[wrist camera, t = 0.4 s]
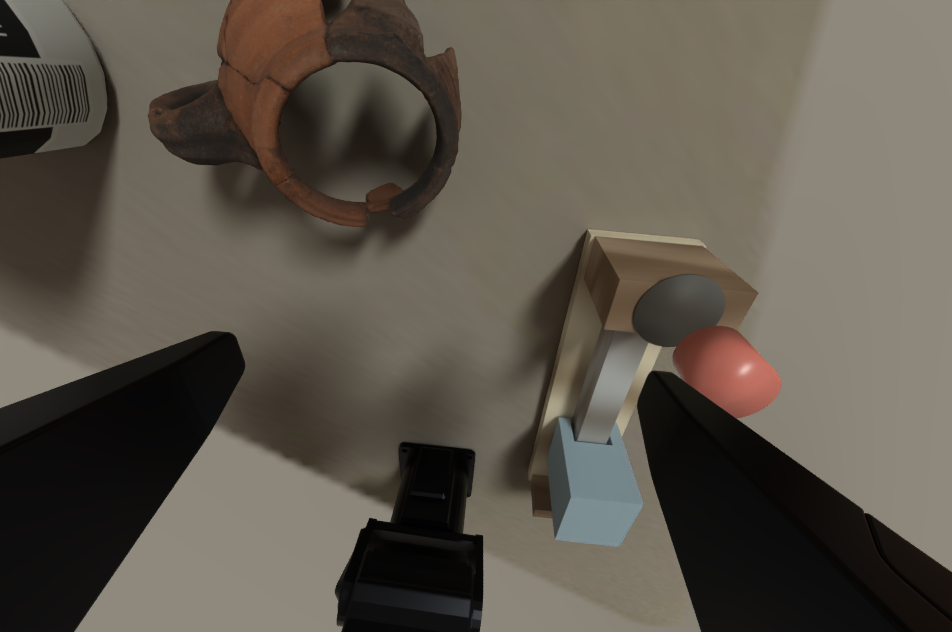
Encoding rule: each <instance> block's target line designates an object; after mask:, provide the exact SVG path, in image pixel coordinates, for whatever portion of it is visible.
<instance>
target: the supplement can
mask: <svg viewBox="0 0 952 632" xmlns="http://www.w3.org/2000/svg"><path fill="white" fill-rule="evenodd" d="M106 112H107V92H106V84H105V76H104V71H103V69H102V67H101V64H100V62H99V59H98V57H97V54H96V52H95V50H94V47H93V45H92V42H91V40H90V39H89V37H88V36H87V35H86V33H85V32H84V30H83V29H82V27H81V26H80V24H79V23H78V21H77V20H76V18H75V17H74V16H73V14H72V13H71V11H70V10H69V8H68V7H67V6H66V5H65V4H64V3H63V1H62V0H0V158H7V157H13V156H20V155H27V154H33V153H40V152H47V151H53V150H60V149H67V148H73V147H80V146H85V145H86V144H87V143H88V142H89V141H91V140H92V139H93V138H94V137H95V136H97V135H98V134H99V133H100V132H101V129H102V125H103V122H104V119H105V115H106Z"/></svg>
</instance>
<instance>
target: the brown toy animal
mask: <svg viewBox="0 0 952 632" xmlns="http://www.w3.org/2000/svg"><path fill="white" fill-rule="evenodd" d="M217 53H218V56H219V57H220V58H221V59H222V62H221V67H220V69H219V76H218V80H214V81H209V82H206V83H202V84H197V85H192V86H187V87H184V88H181V89H178V90H175V91H172V92H169V93H166V94H164V95H162V96H160V97H158V98H156V99H154V100H152V102H151V103H150V109H149V114H148V118H149V123H150V129H151V132H152V134H153V135H154V136H155V137H156V138H157V139H158V140H160V141H161V142H162V143H163V145H164V146H165V147H166V149H167V150H168V151H169V152H171V153H172V154H174V155H175V156H177V157H179V158H181V159H183V160H185V161H187V162H190V163H193V164H198V165H220V164H224V163H230V162H241V163H246V164H249V165H251V166H253V167H255V168H257V169H260V170H262V169H263V170H264V171H265V173H266V174H267V177H268V178H269V179H270V181H271V182H272V184H274V185H275V186H276V187H277V189H278V190H279V191H280V192H281V193H282V194H284V195H285V197H286V198H287V199H289V200H290V201H292V202H293V203H294V204H295V205H297V206H298V207H300V208H301V209H302V210H304V211H306V212H307V213H309V214H311V215H313V216H314V217H318V218H320V219H323V220H325V221H327V222H332V223H335V224H338V225H344V226H352V227H365V226H367V222H368V216H367V213H372V212H379V211H386V210H389V209H390V213H391V214H392V215H393V216H395V217H399V218H404V219H405V218H408V217H411V216H412V215H414V214H415V213H417V212H419V211H420V210H421V209H423V208H424V207H425V206H426V205H427V204H428V203H429V202H431V201H432V200H433V199H434V198H435V197H436V196H437V195H438V194H439V192H440V191H441V190H442V188H443V187H444V186H445V184H446V182H447V180H448V178H449V176H450V174H451V167H452V166H453V165H454V163H455V159H456V155H457V153H458V141H459V131H460V128H461V102H460V95H459V81H458V68H457V62H456V57H455V52H454V49H453V48H452V47H450V48H447V49H446V51H445V53H442V54H438V55H436V56H432V57H426V56H425V55H424V48H423V35H422V33H421V31H420V27H419V24H418V21H417V19H416V18H415V16H414V15H413V13H412V12H411V11H410V10H409V9H408V7H407V6H406V4H405V1H404V0H351V2H350V3H349V5H348V6H347V8H346V9H344V10H343V11H342V12H341V13H340V14H339V15H338V16H337V18H335V19H334V20H333V21H332V22H331V23H330V24H328V23H327V21H326V18H325V14H324V9H323V4H322V1H321V0H231V1H230V3H229V5H228V7H227V9H226V12H225V15H224V18H223V22H222V25H221V28H220V33H219V39H218V45H217ZM337 62H362V63H370V64H375V65H379V66H381V67H384V68H387V69H389V70H391V71H393V72H395V73H397V74H399V75H400V76H402V77H404V78H405V79H407V80H408V81H409V82H410V83H412V84H413V85H414V86H415V87H416V88H417V89H418V90H420V91H421V92H422V93H423V95H424V97H425V99H426V100H427V101H428V104H429V105H430V107H431V110H432V112H433V115H434V118H435V123H436V134H437V139H436V147H435V151H434V155H433V157H432V159H431V161H430V163H429V165H428V167H427V169H426V171H425V172H424V174H423V175H422V176H421V177H420V178H419V180H418V181H417V182H416V183H414V184H413V185H412V186H411V187H409V188H408V189H406V190H404V191H403V190H402V189H401V188H400V187H398V186H397V185H395V184H393V183H388V184H385V185H383V186H380V187H378V188H376V189H374V190H371V191H370V192H369V193H367V194H366V202H367V203H365V202H350V201H344V200H339V199H335V198H332V197H329V196H327V195H324V194H322V193H320V192H318V191H317V190H315V189H313V188H312V187H310V186H309V185H308V184H307V183H305V182H304V181H303V180H302V179H301V178H300V177H299V176H298V175H297V174H296V173H295V171H294V170H293V168H291V167H290V166H289V164H288V163H287V161H286V159H285V156H284V153H283V151H282V148H281V144H280V139H279V126H280V117H281V113H282V110H283V107H284V105H285V103H286V101H287V99H288V98H289V96H290V94H291V93H292V91H293V90H294V89H295V88H296V87H297V86H298V85H299V84H300V83H301V82H302V81H303V80H305V79H306V78H307V77H309V76H310V75H311V74H313V73H315V72H317V71H319V70H322V69H324V68H327V67H330V66H332V65H334V64H336V63H337Z"/></svg>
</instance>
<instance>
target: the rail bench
mask: <svg viewBox="0 0 952 632" xmlns="http://www.w3.org/2000/svg"><path fill="white" fill-rule="evenodd" d="M706 247H707V246H705V245H704V244H703V243H702V242H701V241H699V240H698V239H688V238H678V237H667V236H656V235H645V234H635V233H624V232H613V231H602V230H592V229H588V230H587V234H586V238H585V242H584V246H583V250H582V254H581V258H580V262H579V266H578V270H577V274H576V279H575V283H574V287H573V291H572V295H571V299H570V303H569V307H568V311H567V315H566V319H565V323H564V327H563V331H562V335H561V339H560V343H559V347H558V351H557V355H556V359H555V363H554V367H553V371H552V375H551V379H550V383H549V387H548V391H547V396H546V400H545V404H544V408H543V412H542V416H541V420H540V424H539V428H538V432H537V436H536V440H535V444H534V448H533V452H532V456H531V460H530V464H529V468H528V481H531V492H532V509H533V516H534V517H543V518H552V519H553V517H552V507H551V498H550V488H549V479H548V469H547V457H548V453H549V450H550V446H551V443H552V439H553V436H554V432H555V429H556V425H557V422H558V418H559V417H562V418H570V421H571V427H572V432H573V438H574V441H575V442H585V443H594V444H604V445H606V443H607V441H608V439H609V436H610V434H611V431H612V429H613V427H614V424H615V423H617V424H618V427H619V430H620V433H621V437H622V435H623V433H624V430H625V428H626V426H627V424H628V422H629V419H630V417H631V415H632V413H633V410H634V408H635V406H636V404H637V401H638V397H639V395H640V392H641V390H642V388H643V385H644V383H645V380H646V378H647V376H648V374H649V373H650V372H651V370H652V368H653V365H654V363H655V361H656V359H657V356H658V354H659V352H660V350H661V347H675V346H677V345H678V344H679V343H680V342H681V341H682V340H683V339H684V338H685V337H686V336H688V335H689V334H691V333H693V332H695V331H697V330H699V329H702V328H706V327H710V326H726V327H730V328H733V329H735V330H738V328H739V326H740V324H741V323H742V321H743V319H744V317H745V316H746V314H747V312H748V310H749V309H750V307H751V305H752V303H753V302H754V300H755V298H756V296H757V295H758V292H757V291H756V290H755V289H753V288H752V287H751V286H750V285H749V284H747V283H746V282H745V281H744V280H743V279H741V278H740V277H739V276H738V275H737V274H735V273H734V272H733V271H732V270H731V269H730V268H728V267H727V266H726V265H725V264H724V263H722V262H721V261H720V260H719V259H718V258H716V257H715V256H714V255H713V254H712V253H710V252H709V251H708V250H707V249H706Z"/></svg>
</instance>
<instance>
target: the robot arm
mask: <svg viewBox="0 0 952 632" xmlns="http://www.w3.org/2000/svg"><path fill="white" fill-rule="evenodd" d="M244 369H245V361H244V358H243V355H242V352H241V349H240V347H239V344H238V341H237V338H236V337H235V335H234V334H232V333H230V332H221V331H210V332H207V333H205V334H202V335H199V336H196V337H194V338H191V339H188V340H185V341H183V342H180V343H177V344H175V345H172V346H169V347H166V348H164V349H161V350H158V351H155V352H153V353H150V354H147V355H144V356H142V357H139V358H136V359H133V360H131V361H128V362H125V363H123V364H120V365H117V366H114V367H112V368H109V369H106V370H103V371H101V372H98V373H95V374H92V375H90V376H87V377H84V378H82V379H79V380H76V381H73V382H71V383H68V384H65V385H62V386H60V387H57V388H54V389H51V390H49V391H46V392H44V393H41V394H38V395H35V396H33V397H30V398H27V399H24V400H21V401H19V402H16V403H13V404H11V405H8V406H5V407H2V408H0V632H74V631H75V630H76V628H77V627H78V626H79V624H80V623H81V621H82V620H83V618H84V617H85V615H86V614H87V612H88V611H89V609H90V608H91V607H92V605H93V604H94V602H95V601H96V599H97V598H98V596H99V595H100V593H101V592H102V590H103V589H104V587H105V586H106V585H107V583H108V582H109V580H110V579H111V577H112V576H113V574H114V573H115V571H116V570H117V569H118V567H119V566H120V564H121V563H122V561H123V560H124V558H125V557H126V555H127V554H128V553H129V551H130V550H131V548H132V547H133V545H134V544H135V542H136V541H137V539H138V538H139V537H140V535H141V534H142V532H143V531H144V529H145V528H146V526H147V525H148V523H149V522H150V520H151V519H152V517H153V516H154V515H155V513H156V512H157V510H158V509H159V507H160V506H161V504H162V503H163V501H164V500H165V498H166V497H167V496H168V494H169V493H170V491H171V490H172V488H173V487H174V485H175V484H176V482H177V481H178V479H179V478H180V477H181V475H182V474H183V472H184V471H185V469H186V468H187V466H188V465H189V463H190V462H191V461H192V459H193V457H194V456H195V455H196V453H197V452H198V450H199V449H200V448H201V446H202V445H203V443H204V442H205V440H206V438H207V437H208V435H209V434H210V432H211V431H212V429H213V427H214V425H215V424H216V422H217V420H218V418H219V416H220V415H221V413H222V411H223V409H224V407H225V406H226V404H227V402H228V400H229V398H230V396H231V395H232V393H233V391H234V389H235V387H236V385H237V384H238V382H239V380H240V378H241V376H242V375H243V372H244ZM637 409H638V414H639V419H640V424H641V429H642V434H643V439H644V444H645V449H646V454H647V459H648V464H649V468H650V472H651V477H652V480H653V483H654V487H655V490H656V493H657V496H658V499H659V502H660V505H661V509H662V512H663V515H664V518H665V521H666V524H667V527H668V530H669V533H670V536H671V540H672V543H673V546H674V549H675V552H676V555H677V558H678V561H679V564H680V567H681V571H682V574H683V577H684V580H685V583H686V586H687V589H688V592H689V595H690V598H691V602H692V605H693V608H694V611H695V614H696V617H697V620H698V623H699V626H700V629H701V632H952V572H951V571H949V570H948V569H946V568H945V567H943V566H942V565H941V564H939V563H938V562H936V561H935V560H934V559H932V558H931V557H929V556H928V555H927V554H925V553H924V552H922V551H921V550H919V549H918V548H917V547H915V546H914V545H912V544H911V543H909V542H908V541H906V540H905V539H903V538H902V537H901V536H899V535H898V534H897V533H895V532H894V531H892V530H891V529H890V528H888V527H887V526H885V525H884V524H883V523H881V522H880V521H878V520H877V519H876V518H874V517H873V516H872V515H870V514H868V513H864V511H863V509H862V508H860V507H859V506H857V505H856V504H855V503H853V502H852V501H851V500H849V499H848V498H846V497H845V496H844V495H842V494H840V493H839V492H838V491H837V490H835V489H834V488H832V487H831V486H830V485H828V484H827V483H825V482H824V481H823V480H821V479H820V478H819V477H817V476H816V475H814V474H813V473H812V472H810V471H809V470H807V469H806V468H805V467H803V466H802V465H800V464H799V463H798V462H796V461H795V460H793V459H792V458H791V457H789V456H788V455H786V454H785V453H783V452H782V451H780V450H779V449H778V448H777V447H775V446H773V445H772V444H771V443H770V442H768V441H767V440H765V439H764V438H763V437H761V436H760V435H758V434H757V433H756V432H754V431H753V430H752V429H750V428H749V427H747V426H746V425H745V424H743V423H742V422H740V421H739V420H738V419H736V418H735V417H733V416H732V415H731V414H729V413H728V412H726V411H725V410H724V409H722V408H721V407H719V406H718V405H717V404H715V403H714V402H712V401H711V400H710V399H708V398H707V397H705V396H704V395H703V394H701V393H700V392H699V391H697V390H696V389H694V388H693V387H692V386H690V385H689V384H687V383H686V382H685V381H683V380H682V379H680V378H679V377H678V376H676V375H675V374H673V373H671V372H664V371H651V372H650V373H649V374H648V376H647V378H646V380H645V383H644V385H643V388H642V390H641V392H640V395H639V397H638V402H637ZM399 459H400V473H401V484H400V487H399V491H398V495H397V499H396V503H395V506H394V510H393V514H392V518H391V522H383V521H377V519H373V518H369V521H368V523H367V526H366V528H363V529H361V531H360V534H359V537H358V540H357V543H356V546H355V549H354V551H353V554H352V556H351V558H350V560H349V562H348V564H347V565H346V567H345V569H344V571H343V573H342V575H341V577H340V579H339V581H338V583H337V585H336V589H335V594H336V597H337V599H338V602H339V603H338V614H337V626H342V627H343V628H342V632H480V626H481V617H482V606H483V535H477V534H476V536H475V535H468V534H463V528H464V518H465V508H466V498H467V497H470V496H471V491H472V482H473V473H474V464H475V452H474V451H472V450H467V449H458V448H448V447H439V446H429V445H420V444H411V443H402V444H401V445H400V448H399Z"/></svg>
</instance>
